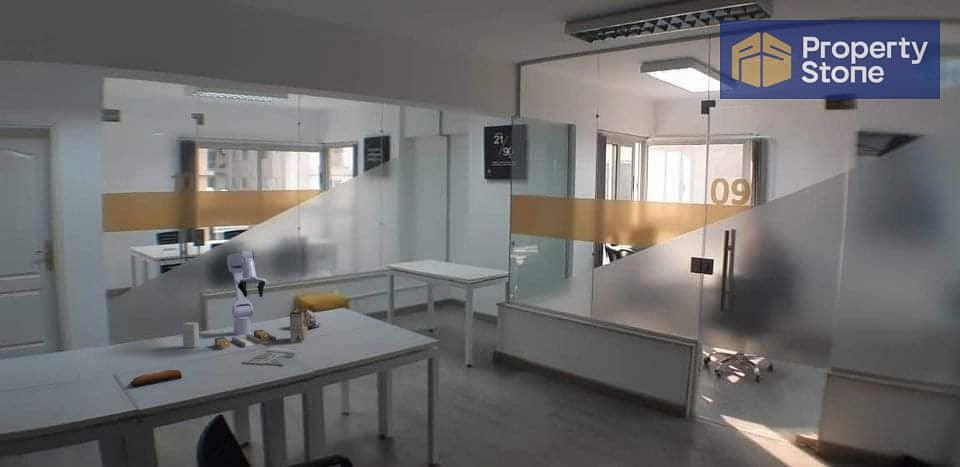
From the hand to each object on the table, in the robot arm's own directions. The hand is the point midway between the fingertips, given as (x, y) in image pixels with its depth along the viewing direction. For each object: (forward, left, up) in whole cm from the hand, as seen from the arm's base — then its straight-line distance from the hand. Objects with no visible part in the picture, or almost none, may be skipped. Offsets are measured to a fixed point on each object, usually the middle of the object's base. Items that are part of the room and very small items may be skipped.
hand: (253, 296), depth 279 cm
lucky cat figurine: (-18, +38, -26) cm, 49 cm away
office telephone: (+22, +1, -27) cm, 35 cm away
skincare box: (-23, -22, -26) cm, 41 cm away
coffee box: (+4, +22, -26) cm, 34 cm away
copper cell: (-12, -11, -26) cm, 31 cm away
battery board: (-10, +4, -26) cm, 28 cm away
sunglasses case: (+18, -49, -27) cm, 59 cm away
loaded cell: (-10, +8, -25) cm, 28 cm away
